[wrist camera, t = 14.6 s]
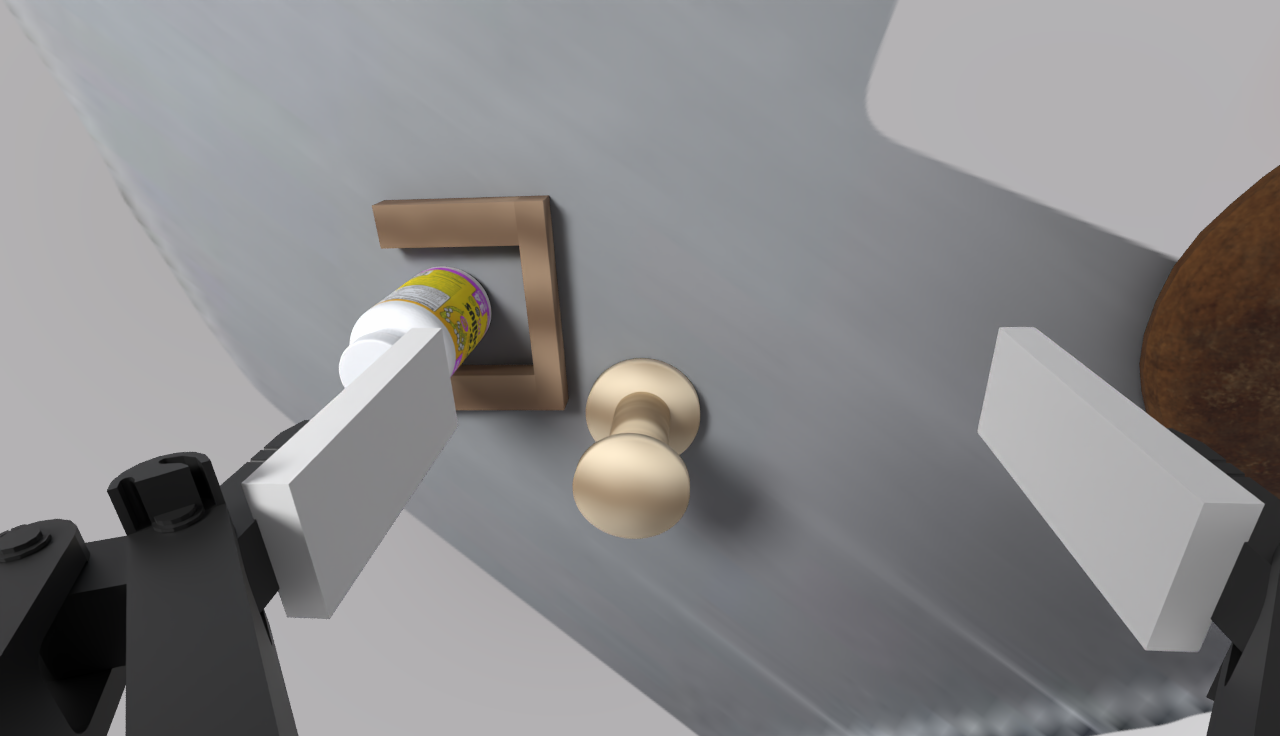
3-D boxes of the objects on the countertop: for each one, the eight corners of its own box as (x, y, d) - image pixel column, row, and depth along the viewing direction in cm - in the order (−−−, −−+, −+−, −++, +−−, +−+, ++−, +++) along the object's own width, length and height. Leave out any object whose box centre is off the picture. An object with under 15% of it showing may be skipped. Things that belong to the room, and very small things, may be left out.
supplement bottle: (485, 356, 51) (423, 440, 40) (403, 331, 51) (317, 409, 39) (501, 277, 49) (440, 344, 37) (415, 251, 48) (325, 309, 37)
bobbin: (583, 358, 51) (555, 431, 41) (699, 357, 50) (700, 431, 40) (592, 456, 55) (568, 545, 44) (700, 457, 54) (701, 548, 44)
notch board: (384, 200, 47) (371, 205, 45) (548, 195, 46) (542, 200, 44) (424, 398, 53) (414, 410, 52) (568, 398, 52) (564, 410, 51)
